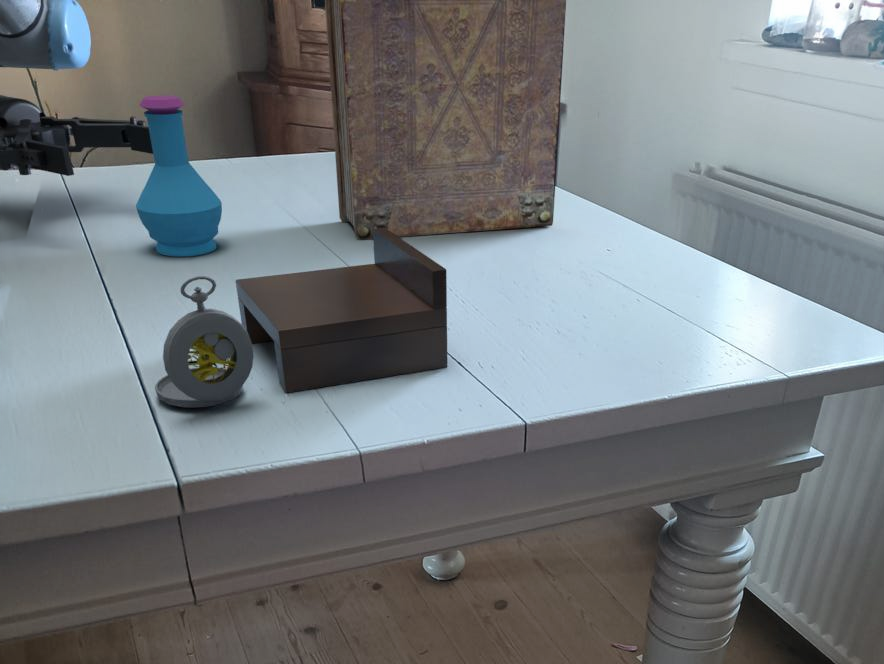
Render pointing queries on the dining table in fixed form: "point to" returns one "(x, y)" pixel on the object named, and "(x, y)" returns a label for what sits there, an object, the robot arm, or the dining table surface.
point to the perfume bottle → (175, 187)
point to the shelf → (351, 317)
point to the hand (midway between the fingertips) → (120, 152)
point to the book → (445, 113)
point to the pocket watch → (204, 356)
